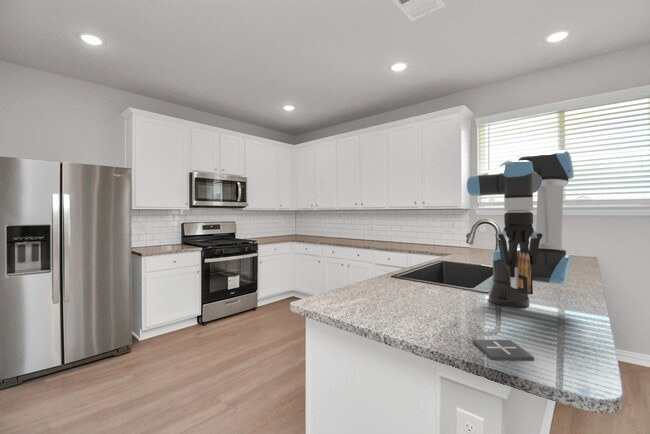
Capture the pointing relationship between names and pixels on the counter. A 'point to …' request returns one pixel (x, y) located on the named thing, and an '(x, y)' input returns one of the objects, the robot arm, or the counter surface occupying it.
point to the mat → (502, 350)
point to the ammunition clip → (523, 274)
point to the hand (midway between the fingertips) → (518, 287)
